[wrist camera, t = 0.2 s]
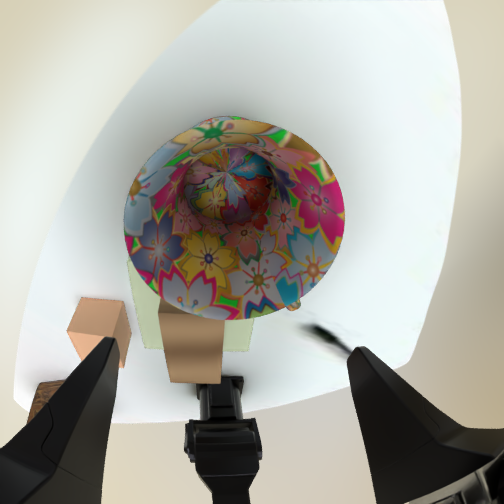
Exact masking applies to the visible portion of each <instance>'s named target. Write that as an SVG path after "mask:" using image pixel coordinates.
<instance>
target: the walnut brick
mask: <svg viewBox="0 0 504 504" xmlns="http://www.w3.org/2000/svg"><path fill="white" fill-rule="evenodd" d="M158 318H159V324H160V330H161V336H162V342H163V347H164V353H165V358H166V363H167V368H168V372H169V377H170V382H175V383H202V384H220V383H221V368H222V353H223V340H224V326H225V320H217V319H210V318H205V317H200V316H197V315H194V314H190V313H188V312H185V311H183V310H181V309H179V308H177V307H175V306H173V305H171V304H170V303H168V302H166V301H165V300H163V299H162V298H160V304H159V309H158Z"/></svg>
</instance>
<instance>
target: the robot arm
mask: <svg viewBox="0 0 504 504" xmlns="http://www.w3.org/2000/svg"><path fill="white" fill-rule="evenodd" d="M119 361H120V351H119V347H118V343H117V340H116V338H114V337H108V336H106V337H104V338H103V339H102V340H101V341H100V342H99V343H98V344H97V345H96V346H95V347H94V348H93V350H92V351H91V352H90V353H89V354H88V355H87V356H86V357H85V358H84V360H83V361H82V362H81V363H80V364H79V365H78V366H77V367H76V368H75V370H74V371H73V372H72V373H71V374H70V375H69V376H68V378H67V379H66V380H65V381H64V382H63V383H62V384H61V386H60V387H59V388H58V389H57V390H56V392H55V393H54V394H53V395H52V396H51V397H50V399H49V400H48V402H46V403H45V404H44V406H43V407H42V408H41V409H40V410H39V412H38V413H37V414H36V415H35V416H34V417H33V418H32V419H31V420H30V421H29V422H28V423H27V424H26V426H25V427H23V428H22V429H21V430H20V431H19V432H18V433H17V434H16V435H15V436H14V437H13V438H12V439H11V440H10V441H9V442H8V443H7V444H6V445H5V446H3V447H2V448H0V504H101V497H102V490H101V489H102V483H103V473H104V464H105V456H106V449H107V441H108V436H109V429H110V424H111V418H112V413H113V408H114V403H115V397H116V390H117V379H118V370H119ZM347 368H348V374H349V380H350V386H351V392H352V397H353V401H354V404H355V409H356V413H357V416H358V420H359V424H360V428H361V432H362V436H363V440H364V445H365V449H366V453H367V458H368V462H369V467H370V472H371V474H372V475H371V476H372V482H373V487H374V492H375V497H376V503H377V504H404V503H407V502H409V504H504V428H503V429H478V428H467V427H464V426H462V425H460V424H458V423H457V422H456V421H454V420H453V419H451V418H450V417H449V416H447V415H446V414H444V413H443V412H442V411H440V410H439V409H437V408H436V407H435V406H434V405H433V404H432V403H430V402H429V401H428V400H427V399H426V398H424V397H423V396H422V395H421V394H420V393H419V392H417V391H416V390H415V389H414V388H413V387H412V386H411V385H409V384H408V383H407V382H406V381H405V380H404V379H402V378H401V377H400V376H399V375H398V374H397V373H396V372H394V371H393V370H392V369H391V368H390V367H389V366H387V365H386V364H385V363H384V362H383V361H382V360H381V359H379V358H378V357H377V356H376V355H375V354H374V353H372V352H371V351H370V350H369V349H368V348H367V347H365V346H360V347H356V348H355V349H354V350H353V352H352V353H351V355H350V356H349V357H348V359H347ZM243 384H244V378H243V377H221V383H220V384H202V383H196V387H197V399H198V400H200V420H193V419H189V423H187V424H185V432H186V433H185V443H184V451H185V453H186V454H188V457H189V458H190V462H191V463H195V467H196V471H197V474H198V476H199V478H200V479H201V480H202V482H203V483H204V484H205V485H206V487H207V488H208V489H209V491H210V492H211V493H212V500H213V504H251V503H250V497H249V487H250V486H251V484H252V482H253V479H254V478H255V476H256V474H257V472H258V470H259V460H261V459H262V445H261V440H260V436H259V432H258V427H257V423H256V419H255V418H251V419H243V414H242V406H241V394H242V389H243Z"/></svg>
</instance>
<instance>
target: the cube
mask: <svg viewBox="0 0 504 504" xmlns="http://www.w3.org/2000/svg"><path fill="white" fill-rule="evenodd" d="M67 333H68V335H69V337H70V339H71V341H72V343H73V345H74V347H75V349H76V351H77V353H78V355H79V357H80V359H81V361H83V360H84V358H85V357H86V356H87V355H88V354H89V353H90V352H91V351H92V350H93V348H94V347H95V346H96V345H97V344H98V343H99V342H100V341H101V340H102V339H103V338H104V337H106V336H108V337H114V338H116V340H117V343H118V347H119V351H120V361H119V368H124V365H125V360H126V355H127V351H128V346H129V342H130V338H131V330H130V326H129V322H128V318H127V314H126V310H125V306H124V302H123V301H116V300H104V299H93V298H83V297H82V298H81V300H80V302H79V304H78V306H77V309H76V311H75V313H74V315H73V317H72V319H71V322H70V324H69V326H68V329H67Z"/></svg>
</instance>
